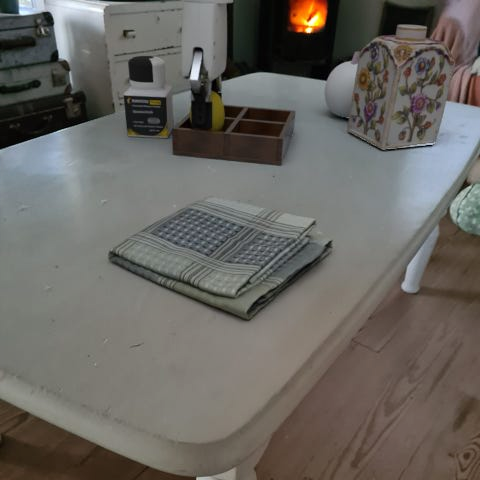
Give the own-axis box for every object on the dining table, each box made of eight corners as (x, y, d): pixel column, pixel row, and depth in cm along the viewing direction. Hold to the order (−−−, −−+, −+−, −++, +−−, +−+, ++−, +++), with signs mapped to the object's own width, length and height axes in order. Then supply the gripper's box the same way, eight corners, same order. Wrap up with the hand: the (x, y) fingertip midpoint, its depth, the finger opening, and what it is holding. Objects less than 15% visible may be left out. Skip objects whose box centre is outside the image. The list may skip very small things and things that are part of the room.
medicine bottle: (126, 137, 89) (119, 60, 82) (135, 125, 95) (129, 52, 88) (168, 139, 89) (164, 62, 82) (173, 127, 95) (171, 54, 88)
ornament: (363, 127, 99) (374, 58, 92) (314, 118, 103) (321, 51, 96) (379, 116, 106) (391, 51, 99) (333, 108, 110) (341, 45, 103)
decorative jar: (381, 152, 87) (404, 30, 77) (344, 132, 96) (361, 21, 85) (437, 146, 91) (467, 29, 80) (398, 128, 100) (420, 20, 89)
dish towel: (102, 263, 54) (98, 235, 52) (207, 208, 66) (207, 184, 64) (251, 327, 45) (253, 297, 44) (340, 251, 58) (344, 225, 56)
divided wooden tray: (172, 154, 82) (171, 128, 80) (200, 125, 96) (200, 102, 94) (281, 165, 80) (283, 138, 78) (293, 134, 94) (295, 110, 91)
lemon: (229, 138, 86) (231, 86, 81) (214, 147, 82) (215, 93, 77) (200, 133, 87) (200, 82, 83) (184, 141, 83) (182, 88, 79)
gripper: (196, -15, 80) (198, 108, 90) (161, -9, 66) (168, 135, 77) (244, -13, 79) (240, 111, 89) (219, -6, 65) (217, 140, 76)
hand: (206, 121), depth 83 cm, fingers closed on lemon, 5 cm apart
